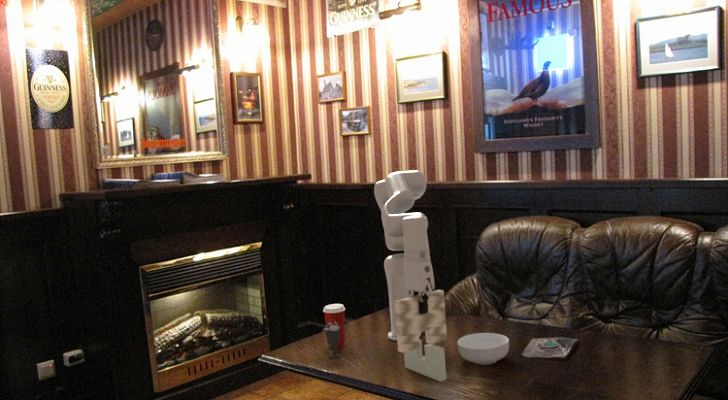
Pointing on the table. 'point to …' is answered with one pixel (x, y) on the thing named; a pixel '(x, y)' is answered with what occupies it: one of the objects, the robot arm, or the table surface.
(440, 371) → the sage board
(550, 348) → the terrain model
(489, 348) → the cereal bowl
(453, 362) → the table surface
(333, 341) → the sundae
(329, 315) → the coffee cup
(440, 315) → the maple plate
